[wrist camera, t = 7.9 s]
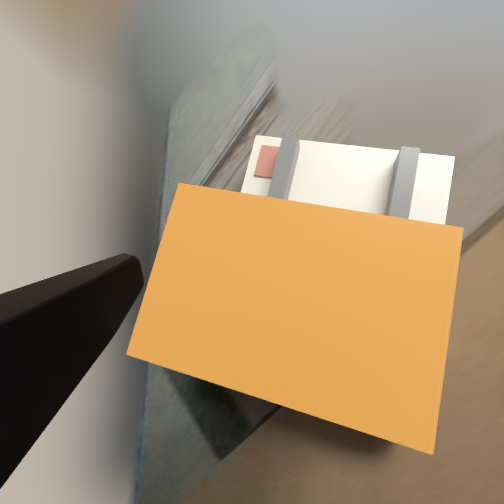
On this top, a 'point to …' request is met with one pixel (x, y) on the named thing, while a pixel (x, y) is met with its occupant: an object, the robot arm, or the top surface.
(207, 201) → the handle
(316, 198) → the plate
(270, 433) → the top surface
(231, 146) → the top surface
